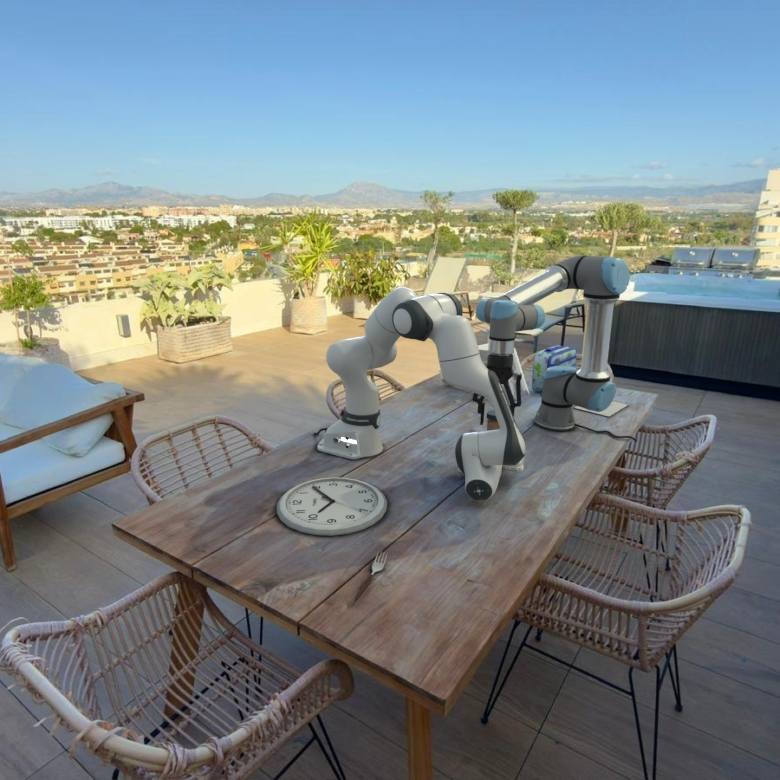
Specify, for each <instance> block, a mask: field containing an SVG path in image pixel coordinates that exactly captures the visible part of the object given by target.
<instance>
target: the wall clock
mask: <svg viewBox="0 0 780 780" xmlns="http://www.w3.org/2000/svg"><path fill="white" fill-rule="evenodd" d="M387 509H388V500H387V498H386V496H385V494H384V493H383V492H382V491H381V490H380V489H379V488H377V487H376V486H374V485H372V484H371V483H369V482H365V481H362V480H359V479H355V478H349V477H338V476H337V477H335V476H333V477H332V476H331V477H322V478H317V479H312V480H307V481H305V482H302V483H299V484H297V485H295V486H293V487H292V488H290V489H288V490H287V491H286V492H285V493H284V494H283V495H281V496H280V498H279V499H278V502H277V503H276V515H277V517H278V518H279V520H280V521H281V522H282V523H283V524H285V525H286V526H287V527H288V528H290V529H293V530H295V531H297V532H299V533H303V534H308V535H312V536H327V537H328V536H329V537H331V536H332V537H333V536H342V535H350V534H352V533H356V532H361V531H363V530H366V529H368V528H369V527H372V526H373V525H375V524H376V523H378V522H379V521H380V520H381V519H382V518H383V517H384V516H385V514H386V512H387Z"/></svg>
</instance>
